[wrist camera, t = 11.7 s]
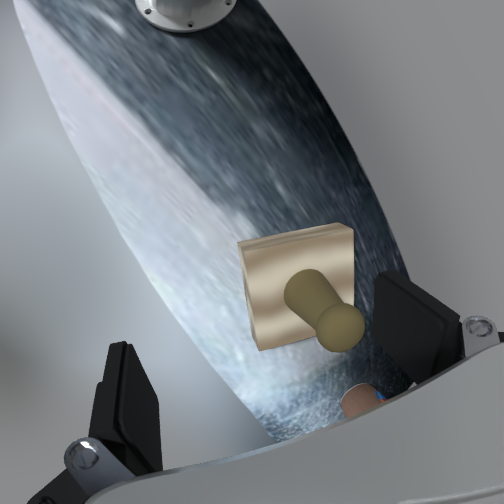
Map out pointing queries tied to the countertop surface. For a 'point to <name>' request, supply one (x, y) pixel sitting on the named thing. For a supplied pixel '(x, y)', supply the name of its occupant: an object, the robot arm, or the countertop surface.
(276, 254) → the birch plinth
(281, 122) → the countertop surface
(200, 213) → the countertop surface
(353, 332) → the olive tall waisted piece
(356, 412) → the coffee cup
